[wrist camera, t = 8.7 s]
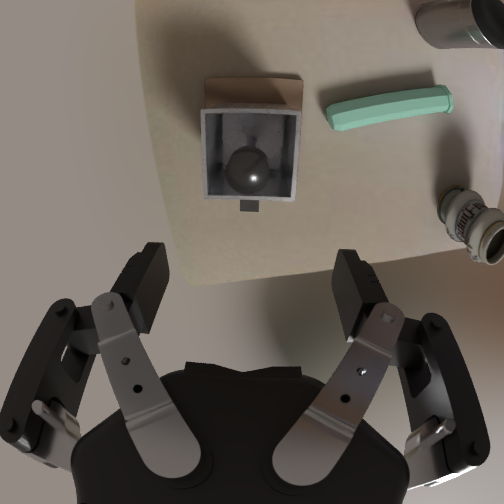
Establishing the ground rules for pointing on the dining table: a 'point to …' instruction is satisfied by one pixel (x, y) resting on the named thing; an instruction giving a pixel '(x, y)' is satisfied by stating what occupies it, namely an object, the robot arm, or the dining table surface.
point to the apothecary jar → (473, 224)
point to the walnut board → (254, 91)
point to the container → (389, 107)
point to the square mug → (280, 179)
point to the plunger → (250, 149)
